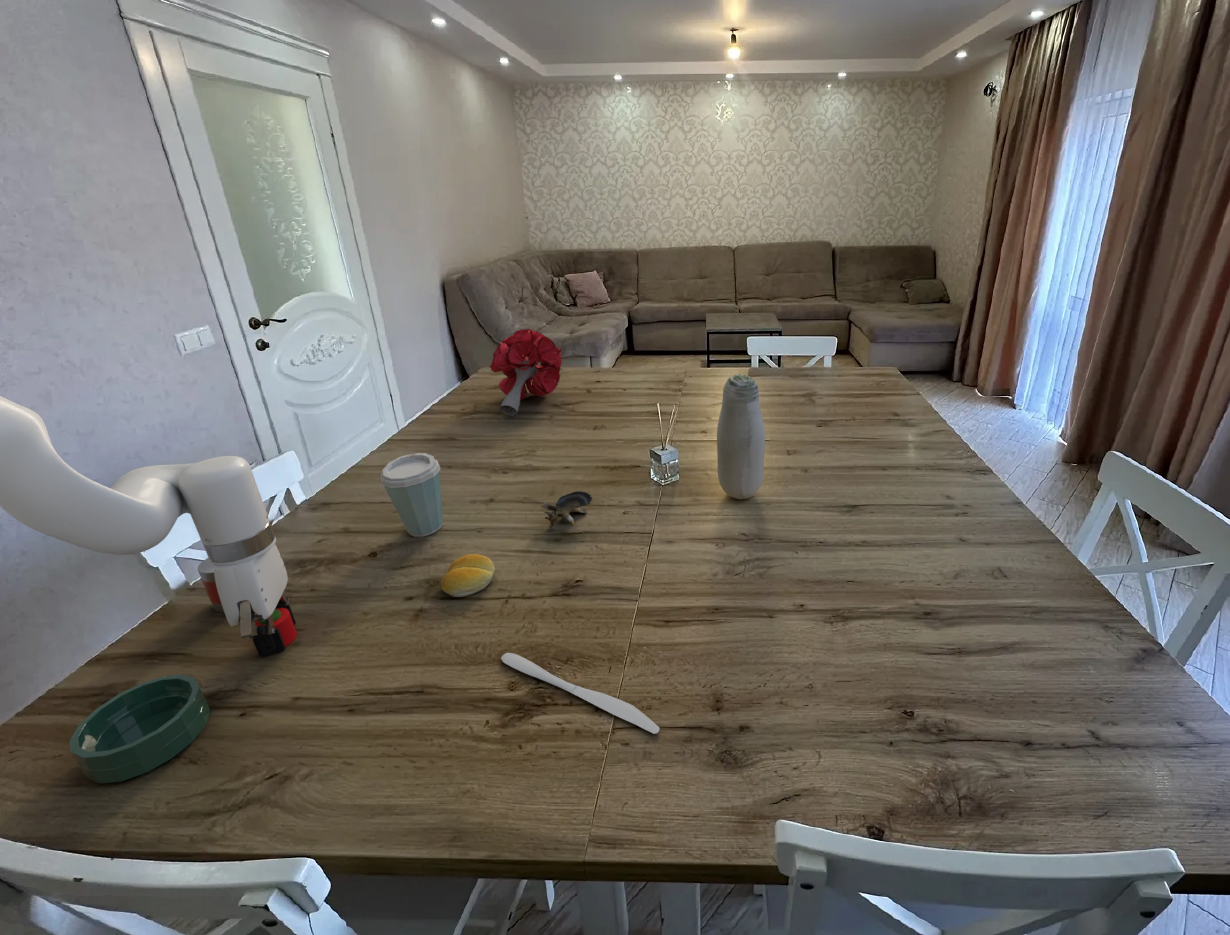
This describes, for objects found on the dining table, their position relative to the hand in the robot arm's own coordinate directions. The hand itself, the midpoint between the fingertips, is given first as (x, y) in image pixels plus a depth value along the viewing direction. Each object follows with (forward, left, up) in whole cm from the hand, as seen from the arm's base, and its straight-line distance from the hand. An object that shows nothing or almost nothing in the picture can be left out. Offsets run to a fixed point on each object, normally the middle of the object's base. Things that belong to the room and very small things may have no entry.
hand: (278, 639), depth 85 cm
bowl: (+1, -17, 0) cm, 17 cm away
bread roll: (+19, +20, -1) cm, 28 cm away
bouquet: (-23, +100, -1) cm, 103 cm away
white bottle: (+58, +62, -1) cm, 85 cm away
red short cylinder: (0, 0, 0) cm, 0 cm away
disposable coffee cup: (-1, +31, -1) cm, 31 cm away
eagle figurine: (+26, +42, -1) cm, 49 cm away
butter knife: (+49, +5, 0) cm, 49 cm away
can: (-16, +5, 0) cm, 17 cm away
